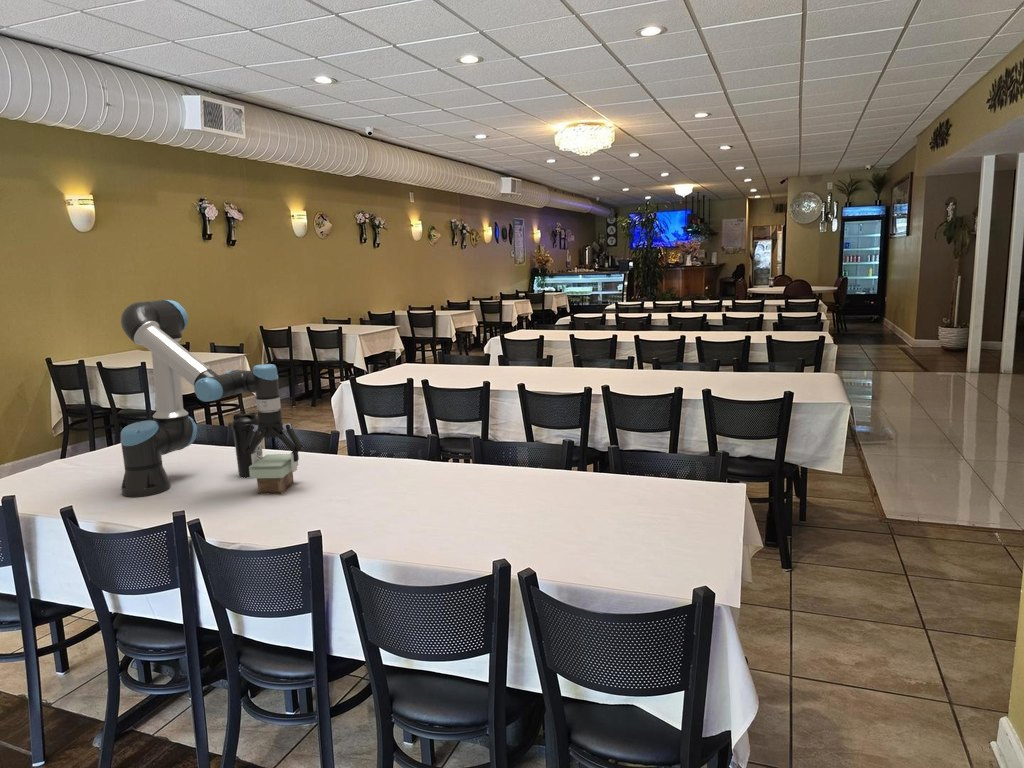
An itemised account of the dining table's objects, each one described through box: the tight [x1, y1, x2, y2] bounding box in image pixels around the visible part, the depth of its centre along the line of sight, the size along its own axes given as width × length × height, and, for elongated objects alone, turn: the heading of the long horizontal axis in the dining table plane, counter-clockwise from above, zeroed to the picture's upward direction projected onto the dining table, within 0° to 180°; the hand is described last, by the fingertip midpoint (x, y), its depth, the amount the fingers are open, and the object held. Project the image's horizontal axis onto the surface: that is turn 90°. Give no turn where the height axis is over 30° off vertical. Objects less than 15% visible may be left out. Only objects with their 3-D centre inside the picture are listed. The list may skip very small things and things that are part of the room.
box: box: [256, 471, 295, 495], centre depth 244 cm, size 12×8×9 cm, turn 177°
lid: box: [249, 453, 299, 479], centre depth 243 cm, size 15×11×4 cm
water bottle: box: [231, 411, 264, 479], centre depth 260 cm, size 10×10×23 cm
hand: (275, 471), depth 243 cm, fingers open, 13 cm apart
